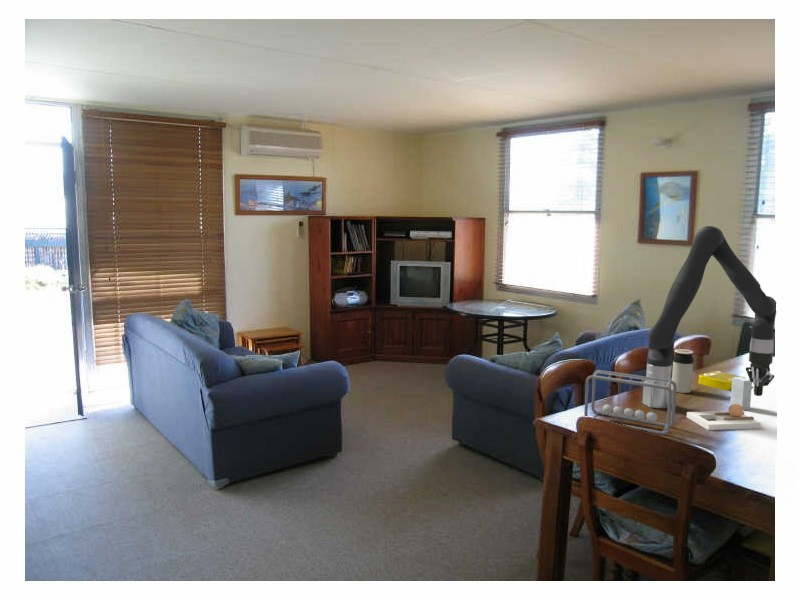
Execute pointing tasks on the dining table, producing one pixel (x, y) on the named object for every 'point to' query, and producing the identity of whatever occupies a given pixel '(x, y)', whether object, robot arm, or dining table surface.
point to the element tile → (717, 380)
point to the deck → (722, 420)
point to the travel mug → (682, 370)
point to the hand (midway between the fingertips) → (758, 395)
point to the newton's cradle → (628, 411)
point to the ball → (735, 410)
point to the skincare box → (741, 392)
